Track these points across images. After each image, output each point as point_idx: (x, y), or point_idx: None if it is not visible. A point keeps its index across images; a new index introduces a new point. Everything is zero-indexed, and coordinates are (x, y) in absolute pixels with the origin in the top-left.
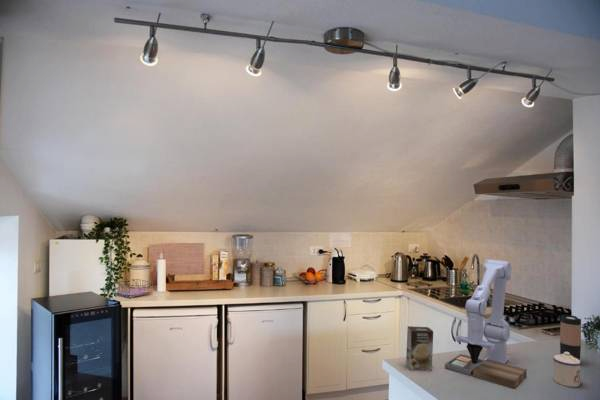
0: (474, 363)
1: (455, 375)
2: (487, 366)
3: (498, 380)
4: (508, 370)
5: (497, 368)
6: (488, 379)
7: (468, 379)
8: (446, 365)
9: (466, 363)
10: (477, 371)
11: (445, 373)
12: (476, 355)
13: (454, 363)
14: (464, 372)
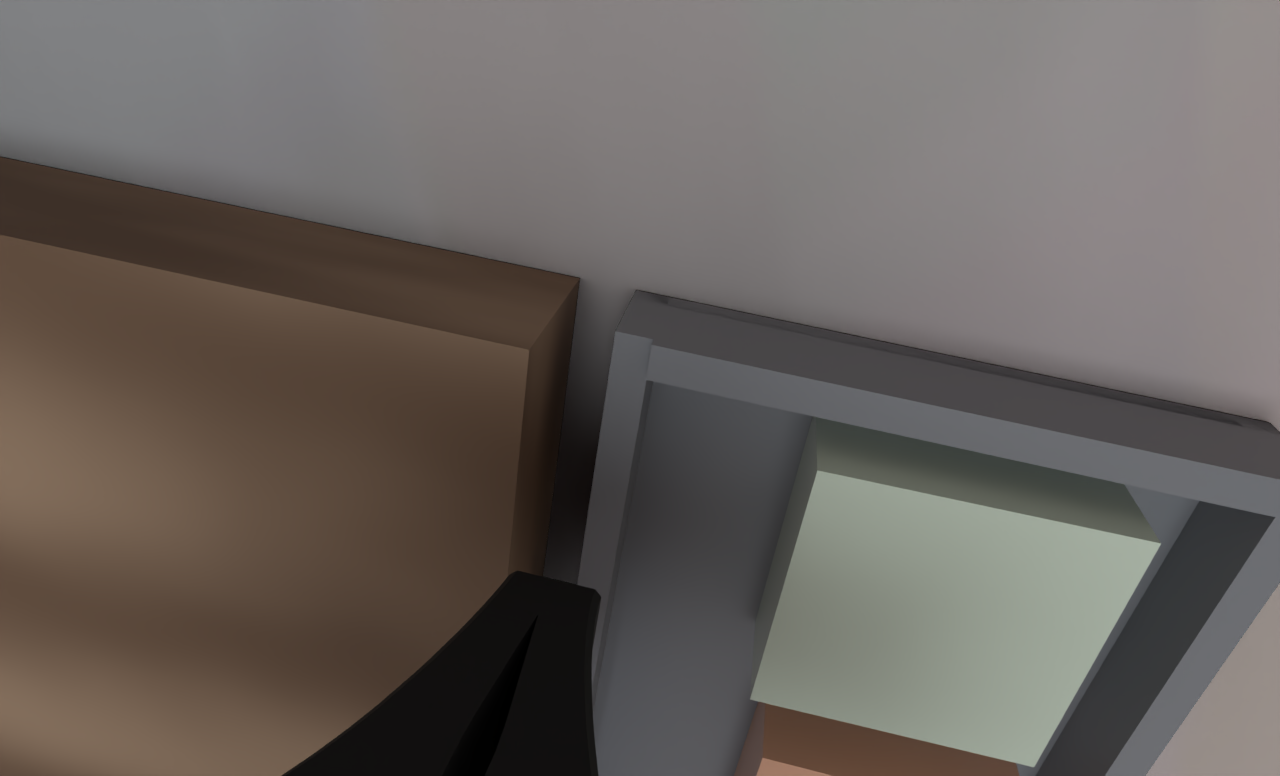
0: (531, 581)
1: (976, 108)
2: (340, 657)
3: (12, 192)
4: (2, 636)
5: (169, 643)
6: (244, 226)
7: (634, 41)
8: (1269, 460)
9: (776, 678)
10: (432, 313)
11: (1273, 79)
12: (345, 743)
13: (1063, 560)
14: (774, 334)
